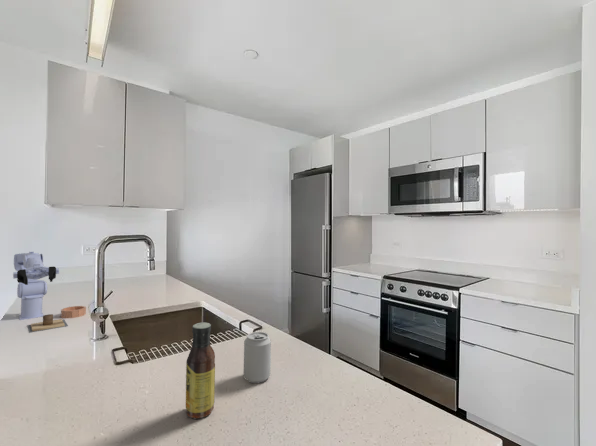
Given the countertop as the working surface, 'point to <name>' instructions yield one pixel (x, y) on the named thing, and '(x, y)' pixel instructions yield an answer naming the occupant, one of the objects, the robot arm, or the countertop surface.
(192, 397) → the sauce bottle
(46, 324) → the lid
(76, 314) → the bowl
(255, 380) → the can
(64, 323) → the mat
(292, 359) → the countertop surface
